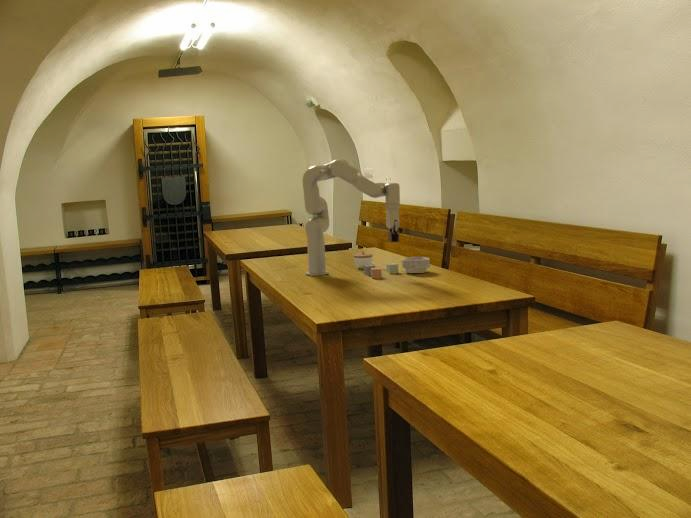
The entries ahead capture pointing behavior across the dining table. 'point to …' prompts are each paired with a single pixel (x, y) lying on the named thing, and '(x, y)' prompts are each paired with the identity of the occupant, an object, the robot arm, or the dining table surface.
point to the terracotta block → (376, 273)
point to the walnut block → (391, 237)
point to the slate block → (368, 269)
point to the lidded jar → (363, 259)
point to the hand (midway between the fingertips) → (393, 240)
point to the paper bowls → (415, 264)
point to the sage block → (392, 268)
